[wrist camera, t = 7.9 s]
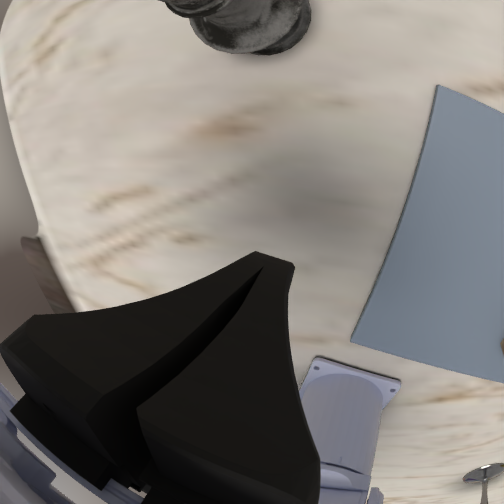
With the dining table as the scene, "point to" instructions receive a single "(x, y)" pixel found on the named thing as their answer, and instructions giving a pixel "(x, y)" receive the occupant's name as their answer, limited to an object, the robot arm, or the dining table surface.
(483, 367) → the board
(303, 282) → the dining table surface
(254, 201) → the dining table surface
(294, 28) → the salt shaker
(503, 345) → the t block
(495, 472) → the silver goblet
